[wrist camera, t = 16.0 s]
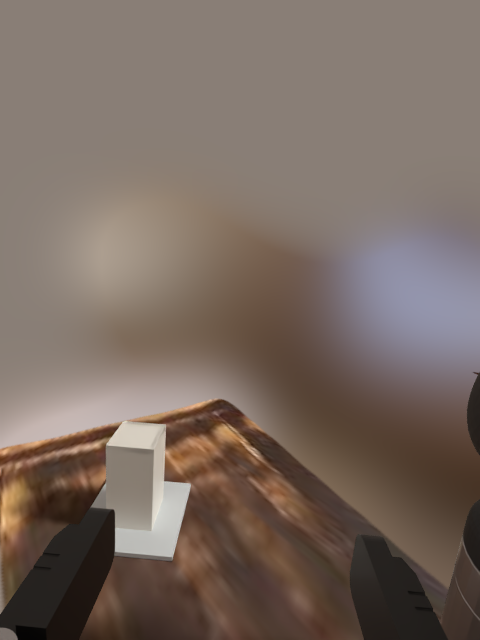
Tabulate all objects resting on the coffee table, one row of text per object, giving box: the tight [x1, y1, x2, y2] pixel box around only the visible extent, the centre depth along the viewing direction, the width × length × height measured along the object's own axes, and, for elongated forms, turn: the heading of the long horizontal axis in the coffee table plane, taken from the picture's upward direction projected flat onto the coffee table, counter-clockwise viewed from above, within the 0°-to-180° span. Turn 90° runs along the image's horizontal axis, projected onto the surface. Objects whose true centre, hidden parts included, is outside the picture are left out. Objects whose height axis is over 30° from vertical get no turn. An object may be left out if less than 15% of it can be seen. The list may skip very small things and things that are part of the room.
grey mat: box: [90, 481, 191, 561], centre depth 47 cm, size 13×13×1 cm
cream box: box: [106, 421, 166, 531], centre depth 46 cm, size 6×6×12 cm
